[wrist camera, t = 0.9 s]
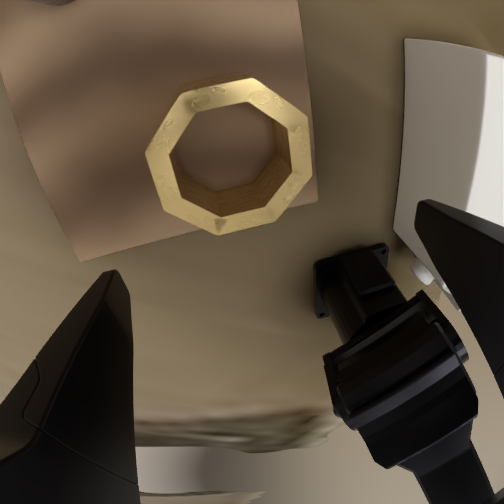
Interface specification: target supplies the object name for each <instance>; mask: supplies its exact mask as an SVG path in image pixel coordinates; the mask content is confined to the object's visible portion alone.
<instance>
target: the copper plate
mask: <svg viewBox="0 0 504 504" xmlns="http://www.w3.org/2000/svg"><path fill="white" fill-rule="evenodd" d="M0 71H1V75H2V78H3V82H4V86H5V89H6V92H7V96H8V99H9V102H10V105H11V108H12V112H13V115H14V118H15V120H16V123H17V126H18V129H19V132H20V134H21V137H22V140H23V143H24V145H25V148H26V150H27V153H28V155H29V158H30V160H31V163H32V165H33V168H34V170H35V172H36V175H37V177H38V179H39V181H40V184H41V186H42V188H43V190H44V193H45V195H46V197H47V199H48V201H49V203H50V205H51V207H52V209H53V211H54V214H55V216H56V218H57V220H58V222H59V224H60V225H61V227H62V229H63V231H64V233H65V235H66V237H67V239H68V241H69V243H70V244H71V246H72V248H73V250H74V252H75V254H76V255H77V257H78V259H79V261H80V262H82V261H86V260H89V259H93V258H96V257H100V256H103V255H107V254H110V253H114V252H118V251H121V250H125V249H128V248H132V247H136V246H139V245H143V244H147V243H151V242H154V241H158V240H162V239H166V238H169V237H173V236H177V235H181V234H185V233H189V232H193V231H196V230H200V229H202V228H200V227H198V226H195V225H193V224H191V223H189V222H187V221H185V220H183V219H180V218H178V217H176V216H174V215H172V214H170V213H168V212H165V210H163V207H162V204H161V201H160V198H159V195H158V192H157V189H156V186H155V183H154V180H153V177H152V174H151V171H150V168H149V165H148V162H147V159H146V155H145V151H146V148H147V145H148V142H149V139H150V136H151V134H152V132H153V130H154V129H155V127H156V125H157V123H158V122H159V120H160V118H161V117H162V115H163V114H164V112H165V110H166V109H167V107H168V106H169V104H170V102H171V101H172V99H173V98H174V96H175V95H176V93H177V92H178V90H179V88H180V87H181V86H182V85H184V84H188V83H192V82H197V81H201V80H205V79H210V78H214V77H219V76H224V75H229V74H235V73H240V72H241V73H244V74H246V75H248V76H250V77H252V78H254V79H256V80H257V81H259V82H260V83H262V84H263V85H265V86H266V87H268V88H269V89H270V90H272V91H273V92H275V93H276V94H278V95H279V96H280V97H282V98H283V99H285V100H286V101H287V102H289V103H290V104H291V105H293V106H294V107H295V108H297V109H298V110H299V111H301V112H302V113H303V114H305V115H306V116H307V118H308V128H309V139H310V151H311V163H312V177H311V178H310V179H309V180H308V182H307V183H306V184H305V185H304V187H303V188H302V189H301V190H300V192H299V193H298V194H297V195H296V197H295V198H294V199H293V200H292V202H291V203H290V204H289V205H288V206H287V208H291V207H296V206H300V205H305V204H309V203H313V202H318V188H317V172H316V157H315V144H314V132H313V121H312V110H311V100H310V91H309V82H308V73H307V65H306V57H305V50H304V42H303V35H302V28H301V22H300V15H299V9H298V3H297V0H75V1H73V2H71V3H68V4H65V5H60V6H52V5H47V4H42V3H36V2H31V1H25V0H0ZM174 149H175V153H176V156H177V160H178V163H179V167H180V170H181V174H183V175H185V176H187V177H189V178H191V179H193V180H195V181H197V182H199V183H201V184H203V185H205V186H206V187H208V188H210V189H212V190H214V191H217V190H221V189H225V188H230V187H234V186H238V185H242V184H247V183H251V182H254V180H255V179H256V178H257V176H258V175H259V174H260V172H261V171H262V170H263V168H264V167H265V166H266V164H267V163H268V162H269V160H270V159H271V158H272V156H273V155H274V154H275V152H276V146H275V139H274V132H273V125H272V118H271V117H270V116H269V115H267V114H266V113H264V112H263V111H261V110H260V109H258V108H257V107H255V106H254V105H252V104H251V103H249V102H248V101H247V102H242V103H237V104H232V105H227V106H222V107H218V108H213V109H209V110H205V111H200V112H196V113H195V114H194V116H193V117H192V119H191V121H190V122H189V124H188V125H187V127H186V128H185V130H184V131H183V133H182V135H181V136H180V138H179V139H178V141H177V142H176V144H175V146H174ZM287 208H286V209H287Z"/></svg>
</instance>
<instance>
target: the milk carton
mask: <svg viewBox="0 0 504 504" xmlns="http://www.w3.org/2000/svg"><path fill="white" fill-rule="evenodd" d="M404 46H405V108H404V130H403V145H402V157H401V168H400V178H399V187H398V195H397V203H396V210H395V217H394V225H393V230H394V231H395V232H396V233H397V235H398V236H399V237H400V238H401V239H402V240H403V241H404V242H405V244H406V245H407V246H408V247H409V248H410V249H411V250H412V252H413V253H414V254H415V255H416V256H417V257H416V260H415V261H414V262H413V263H412V264H411V266H410V268H411V270H412V272H413V273H414V274H415V275H416V277H417V278H418V279H419V280H420V281H422V282H423V283H424V284H426V285H429V284H430V283H431V282H432V280H434V281H435V282H436V283H437V285H438V286H439V287H440V288H441V290H442V291H443V292H444V294H445V295H446V296H447V297H448V299H449V300H450V301H451V303H452V304H453V305H454V307H455V308H456V309H457V311H459V312H460V311H461V310H460V308H459V307H458V305H457V303H456V301H455V300H454V298H453V296H452V294H451V293H450V291H449V289H448V288H447V286H446V284H445V283H444V281H443V280H442V278H441V276H440V275H439V273H438V271H437V270H436V268H435V266H434V264H433V263H432V261H431V259H430V257H429V255H428V253H427V251H426V249H425V247H424V245H423V244H422V242H421V240H420V238H419V236H418V235H417V233H416V231H415V228H414V220H415V214H416V208H417V204H418V202H419V201H421V200H425V199H432V200H435V201H438V202H441V203H443V204H446V205H449V206H452V207H454V208H457V209H460V210H463V211H465V212H468V213H471V214H473V215H476V216H478V217H481V218H483V219H486V220H488V221H491V222H493V223H496V224H498V225H501V226H503V227H504V56H502V55H499V54H495V53H492V52H488V51H485V50H481V49H477V48H472V47H468V46H463V45H458V44H453V43H447V42H440V41H432V40H422V39H409V38H405V39H404Z"/></svg>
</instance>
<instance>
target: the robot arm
mask: <svg viewBox="0 0 504 504" xmlns="http://www.w3.org/2000/svg"><path fill="white" fill-rule="evenodd" d="M414 228H415V231H416V233H417V235H418V236H419V238H420V240H421V242H422V244H423V245H424V247H425V249H426V251H427V253H428V255H429V257H430V259H431V261H432V263H433V264H434V266H435V268H436V270H437V271H438V273H439V275H440V276H441V278H442V280H443V281H444V283H445V284H446V286H447V288H448V289H449V291H450V293H451V294H452V296H453V298H454V300H455V301H456V303H457V305H458V307H459V308H460V310H461V312H462V314H463V315H464V317H465V319H466V321H467V323H468V324H469V326H470V328H471V330H472V332H473V334H474V336H475V338H476V340H477V342H478V344H479V345H480V347H481V349H482V351H483V354H484V356H485V358H486V360H487V362H488V364H489V366H490V368H491V370H492V372H493V374H494V377H495V379H496V382H497V384H498V386H499V389H500V391H501V393H502V396H503V398H504V227H503V226H501V225H498V224H496V223H493V222H491V221H488V220H486V219H483V218H481V217H478V216H476V215H473V214H471V213H468V212H465V211H463V210H460V209H457V208H454V207H452V206H449V205H446V204H443V203H441V202H438V201H435V200H432V199H425V200H421V201H419V202H418V204H417V208H416V214H415V220H414ZM382 250H383V251H382ZM388 253H389V248H388V247H387V246H386V244H380V245H377V246H373V247H370V248H366V249H362V250H359V251H355V252H351V253H348V254H344V255H340V256H337V257H333V258H329V259H325V260H322V261H319V262H317V263H316V264H315V265H314V283H315V314H316V316H317V318H324V317H328V316H330V317H331V319H332V321H333V323H334V326H335V328H336V330H337V332H338V334H339V336H340V338H341V340H342V342H343V345H342V346H340V347H339V348H337V349H335V350H334V351H332V352H331V353H330V352H328V353H327V354H325V355H323V360H324V364H325V365H324V369H325V373H326V378H327V382H328V386H329V391H330V395H331V400H332V404H333V412H334V414H335V415H336V416H337V417H340V418H342V419H343V421H344V422H345V423H346V425H348V427H349V428H350V429H352V430H358V431H359V433H360V435H361V436H362V438H363V439H364V441H365V443H366V445H367V447H368V449H369V451H370V453H371V455H372V457H373V459H374V461H375V462H376V463H378V464H379V465H381V466H382V467H384V468H386V469H390V468H391V467H394V466H396V465H397V466H400V467H402V468H404V469H406V470H409V471H411V472H413V473H414V475H415V477H416V479H417V480H418V482H419V484H420V486H421V488H422V490H423V492H424V494H425V496H426V498H427V500H428V502H429V504H504V488H502V489H501V490H500V491H499V492H497V493H496V494H494V492H493V489H492V487H491V485H490V482H489V480H488V477H487V475H486V473H485V470H484V468H483V466H482V463H481V461H480V459H479V457H478V454H477V452H476V450H475V448H474V446H473V444H472V441H471V439H470V436H471V430H472V423H473V419H474V418H476V417H477V415H478V398H477V395H476V390H475V387H474V385H473V383H472V381H471V379H470V377H469V375H468V373H467V372H466V369H465V367H464V366H463V364H464V363H465V362H466V361H467V360H468V359H469V356H468V353H467V350H466V348H465V346H464V344H463V342H462V340H461V339H460V337H459V335H458V334H457V332H456V330H455V329H454V327H453V326H452V325H451V323H450V322H449V320H448V319H447V318H446V317H445V316H444V315H443V313H442V312H441V311H440V310H439V308H438V307H437V306H436V305H435V304H434V303H433V301H432V300H431V299H430V298H429V297H428V296H427V294H426V293H425V292H424V291H423V290H422V289H421V290H420V291H419V292H417V293H416V295H415V296H414V297H413V298H411V299H410V300H409V301H407V300H406V298H405V297H404V295H403V294H402V293H401V291H400V290H399V288H398V287H397V286H396V284H395V281H394V279H393V278H392V277H391V275H390V274H389V273H388V271H387V270H386V266H387V260H388ZM320 267H322V268H320ZM137 484H138V477H137V466H136V452H135V435H134V410H133V332H132V319H131V302H130V294H129V291H128V289H127V287H126V285H125V283H124V281H123V279H122V277H121V275H120V273H119V272H118V271H117V270H110V271H106V272H103V273H102V274H101V275H100V276H99V278H98V279H97V280H96V281H95V282H94V283H93V285H92V286H91V287H90V288H89V289H88V291H87V292H86V293H85V294H84V295H83V297H82V298H81V299H80V300H79V302H78V303H77V304H76V305H75V306H74V308H73V309H72V310H71V311H70V313H69V314H68V315H67V316H66V318H65V319H64V320H63V321H62V323H61V324H60V325H59V327H58V328H57V329H56V331H55V332H54V333H53V334H52V336H51V337H50V338H49V340H48V341H47V342H46V344H45V345H44V346H43V348H42V349H41V350H40V352H39V353H38V355H37V356H36V359H34V360H33V361H32V363H31V364H30V366H29V367H28V368H27V370H26V371H25V373H24V374H23V375H22V377H21V378H20V379H19V381H18V382H17V384H16V385H15V386H14V387H13V389H12V390H11V391H10V393H9V394H8V395H7V397H6V398H5V399H4V400H3V402H2V403H1V404H0V504H141V503H140V495H139V486H138V485H137Z"/></svg>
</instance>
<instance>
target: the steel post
mask: <svg viewBox="0 0 504 504" xmlns="http://www.w3.org/2000/svg"><path fill="white" fill-rule="evenodd" d="M25 1H31V2H36V3H42V4H47V5H52V6H60V5H65V4H68V3H71V2H73V1H75V0H25Z"/></svg>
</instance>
